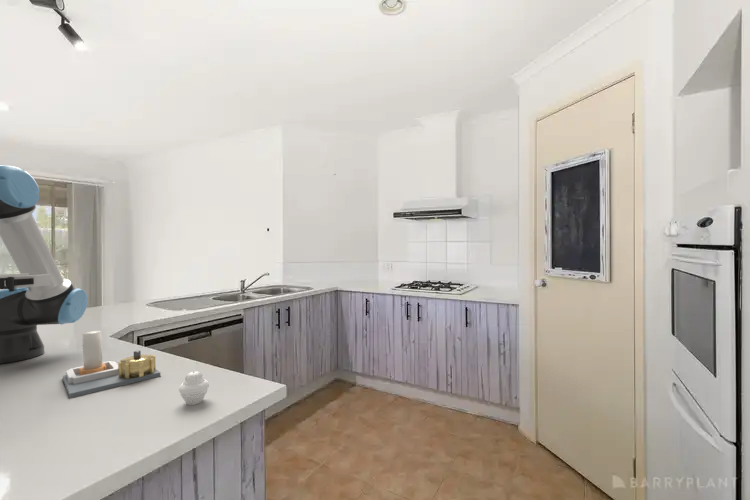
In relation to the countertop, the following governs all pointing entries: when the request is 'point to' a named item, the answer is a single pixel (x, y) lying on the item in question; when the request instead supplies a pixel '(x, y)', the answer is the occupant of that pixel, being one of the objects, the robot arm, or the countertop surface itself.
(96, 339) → the white cylinder orange base
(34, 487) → the countertop surface
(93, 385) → the carrier plate
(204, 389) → the muffin
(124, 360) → the sun gear
